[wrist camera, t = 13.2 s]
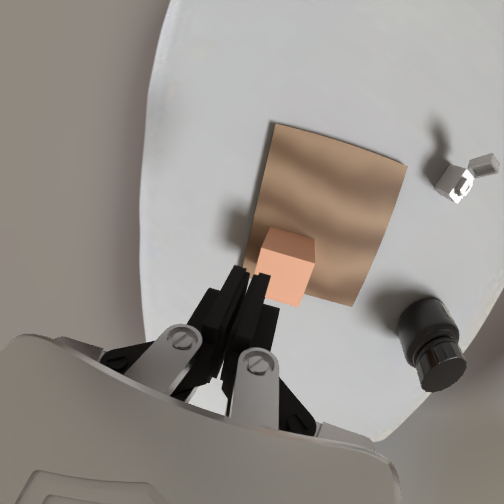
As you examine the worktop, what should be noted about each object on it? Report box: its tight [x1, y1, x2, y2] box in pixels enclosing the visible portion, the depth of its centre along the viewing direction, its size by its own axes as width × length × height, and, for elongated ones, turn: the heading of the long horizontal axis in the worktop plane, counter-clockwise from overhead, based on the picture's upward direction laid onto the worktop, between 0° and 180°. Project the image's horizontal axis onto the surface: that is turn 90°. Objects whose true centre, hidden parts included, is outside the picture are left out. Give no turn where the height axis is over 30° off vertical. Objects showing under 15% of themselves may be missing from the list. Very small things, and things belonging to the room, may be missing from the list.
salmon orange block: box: [254, 226, 315, 307], centre depth 31 cm, size 6×6×7 cm
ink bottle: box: [397, 299, 466, 392], centre depth 30 cm, size 10×9×12 cm
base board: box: [243, 124, 408, 307], centre depth 32 cm, size 20×16×1 cm
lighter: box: [435, 153, 500, 203], centre depth 22 cm, size 7×2×8 cm, turn 148°
